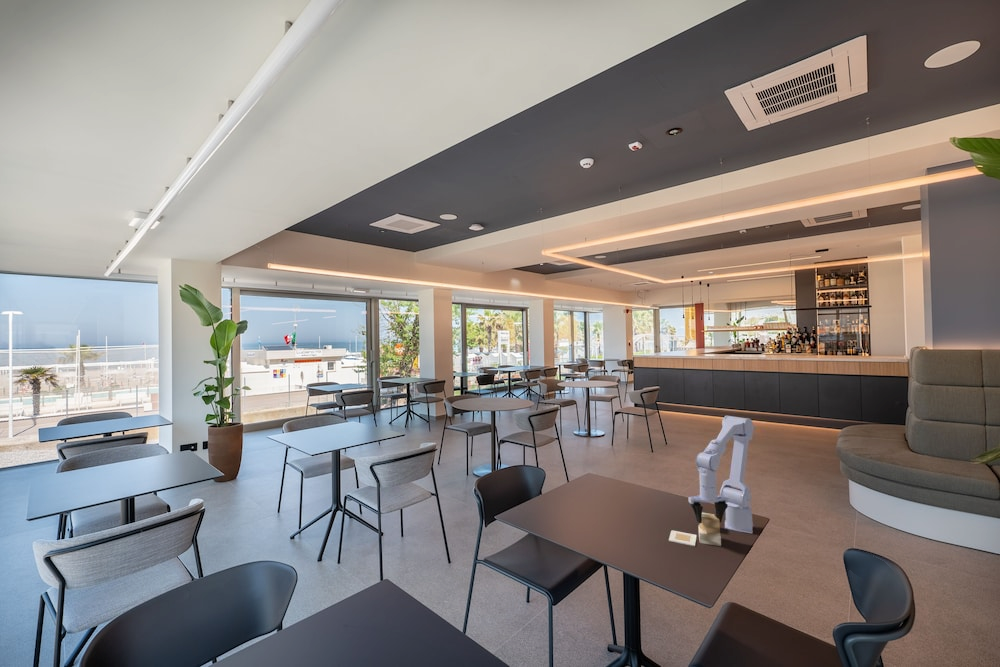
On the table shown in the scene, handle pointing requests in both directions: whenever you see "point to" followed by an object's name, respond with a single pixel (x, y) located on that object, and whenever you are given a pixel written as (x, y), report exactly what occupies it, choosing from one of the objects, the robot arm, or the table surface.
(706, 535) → the base block
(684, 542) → the card
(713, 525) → the oak cube
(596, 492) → the table surface
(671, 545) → the table surface
